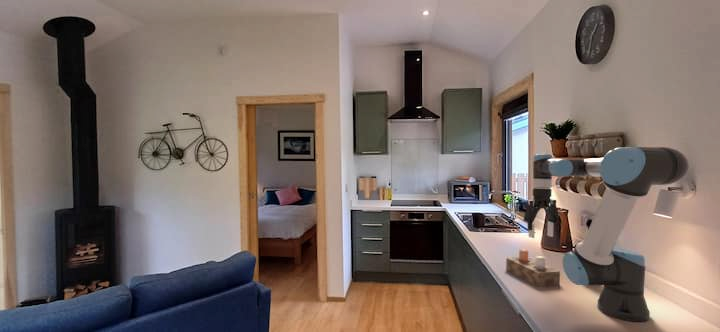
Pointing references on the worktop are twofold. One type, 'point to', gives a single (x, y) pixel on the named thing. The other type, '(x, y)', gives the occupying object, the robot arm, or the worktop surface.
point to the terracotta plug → (523, 255)
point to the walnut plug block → (533, 272)
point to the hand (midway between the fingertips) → (540, 236)
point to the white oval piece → (540, 263)
